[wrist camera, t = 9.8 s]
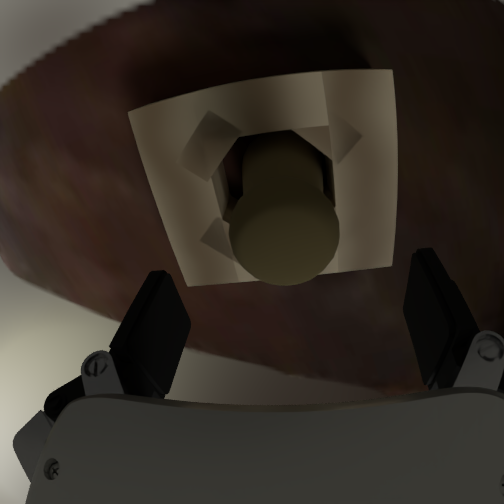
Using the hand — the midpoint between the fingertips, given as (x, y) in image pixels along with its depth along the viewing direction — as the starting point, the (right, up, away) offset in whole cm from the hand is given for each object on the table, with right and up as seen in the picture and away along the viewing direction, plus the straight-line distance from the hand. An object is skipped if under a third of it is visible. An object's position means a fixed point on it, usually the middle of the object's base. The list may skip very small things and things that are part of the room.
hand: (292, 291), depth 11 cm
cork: (+1, +8, +11) cm, 13 cm away
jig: (0, +8, +11) cm, 13 cm away
